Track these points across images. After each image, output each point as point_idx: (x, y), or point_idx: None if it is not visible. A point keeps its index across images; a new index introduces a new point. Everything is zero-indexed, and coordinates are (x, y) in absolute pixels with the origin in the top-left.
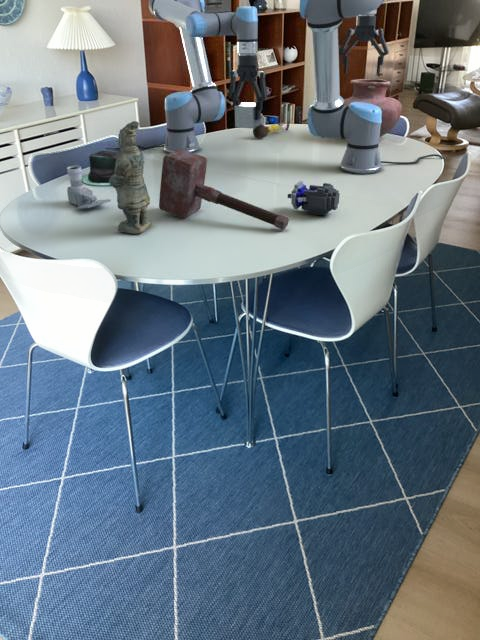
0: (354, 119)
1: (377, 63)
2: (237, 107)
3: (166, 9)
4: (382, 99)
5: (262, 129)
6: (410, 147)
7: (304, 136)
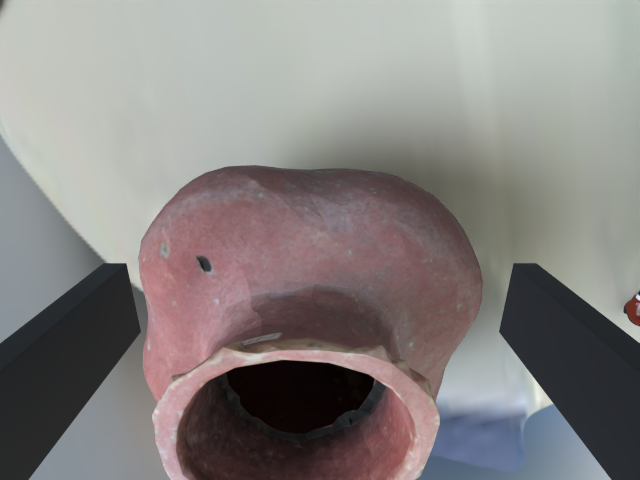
0: None
1: (39, 337)
2: None
3: None
4: (209, 331)
5: None
6: (112, 188)
7: (546, 238)
